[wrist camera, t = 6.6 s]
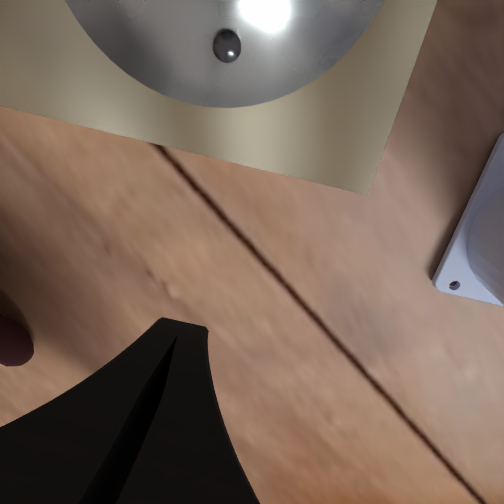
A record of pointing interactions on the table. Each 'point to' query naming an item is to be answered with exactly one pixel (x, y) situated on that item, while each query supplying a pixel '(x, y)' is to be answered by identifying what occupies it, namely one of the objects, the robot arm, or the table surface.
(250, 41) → the grey turntable
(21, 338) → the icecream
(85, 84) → the post base
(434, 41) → the table surface
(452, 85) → the table surface
